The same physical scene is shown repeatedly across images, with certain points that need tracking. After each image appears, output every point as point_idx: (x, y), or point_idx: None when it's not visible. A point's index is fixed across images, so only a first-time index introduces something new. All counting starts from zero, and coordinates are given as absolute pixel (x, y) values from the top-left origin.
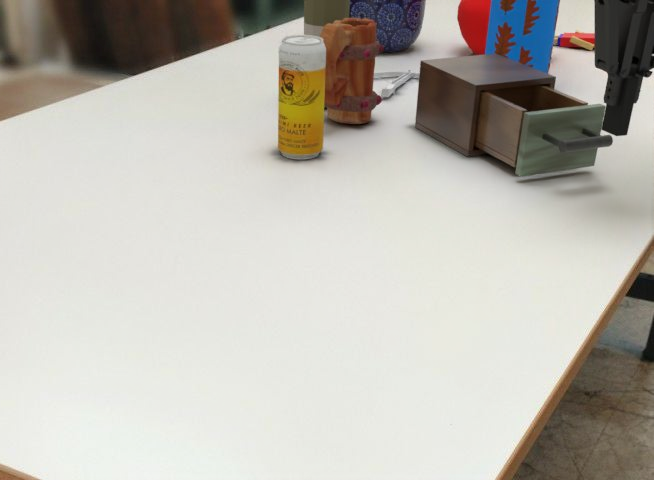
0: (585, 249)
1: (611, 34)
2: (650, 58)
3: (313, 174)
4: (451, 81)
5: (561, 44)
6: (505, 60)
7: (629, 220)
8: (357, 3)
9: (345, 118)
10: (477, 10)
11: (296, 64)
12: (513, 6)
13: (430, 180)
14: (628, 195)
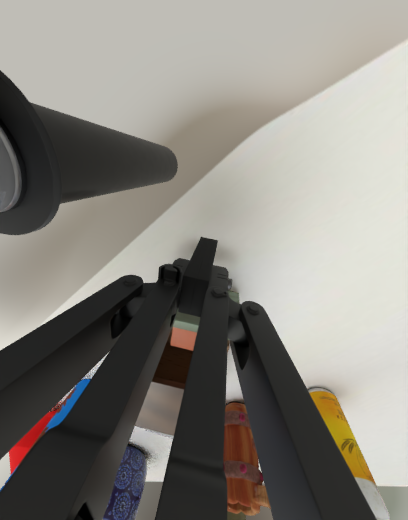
0: (337, 145)
1: (302, 396)
2: (148, 294)
3: (347, 373)
4: None
5: None
6: (140, 415)
7: (229, 178)
8: (137, 495)
9: None
10: None
11: (379, 493)
12: None
13: (290, 327)
14: (178, 223)
